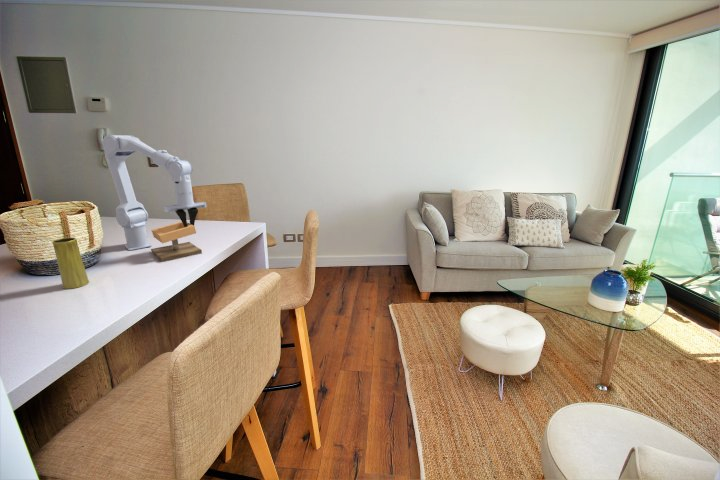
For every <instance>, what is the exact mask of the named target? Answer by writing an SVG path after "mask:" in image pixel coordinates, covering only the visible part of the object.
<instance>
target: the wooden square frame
mask: <svg viewBox="0 0 720 480" xmlns="http://www.w3.org/2000/svg"><path fill="white" fill-rule="evenodd" d="M187 225H188V227H184V226H183V223H182V221H181V220H180V221H177V222H174V223H171V224H168V225H163V226H160V227H157V228H152V229H150V230H151V233H152V236H153V238H154V239H156V240H157V241H158V242H160V243H161V244H166V243H169V242H172V240H175V239H178V240H179V239H181V238H185V237H187V236H191V235H195V234H197V230H196V227H195V224H194V225H192V224H190V222H187Z"/></svg>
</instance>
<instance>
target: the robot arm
mask: <svg viewBox="0 0 720 480" xmlns="http://www.w3.org/2000/svg"><path fill="white" fill-rule="evenodd" d="M101 144H102V145H101V146H102V148H103V151H104V154H105V158H106V162H107V165H108V169H109V172H110V175H111V177H112V182H113V184H114V188H115V190H116V194H117V196H118V201H119V204H118V205H117V206H116V208H115V209H114V210H115V215H116V216H115V219H116V222H117V223H118V225H119V226H121V228H123V231H124V236H125V239H126V243H124V244H123V245H124V247H125V248H126V249H127V250H128V251H133V250H139V249H145V248H151V247H152V244H151V243H150V242H149V239H148V235H147V234H148V233H147V229H146V224H147V221H148V219H149V213H148V211H147V210H146V209H145V206H144V204H142V203H141V202H139V201H137V198H136V194H135V191H134V188H133V184H132V182H131V178H130V175H129V171H128V169H127V168H128V167H127V164H126V160H127V159H128V158H129V157H130V156H132V155H133V154H134V153H135V152H137V153H138V154H140V155H143V156H145V157H147V158H149V159H152V162H153V164H155V165H157V166H158V167H160V168H162V169H164V170H166V171H167V172H168V174H169V175H170V177H171V180H172V182H173V186H174V193H175V199H176V204H171V205H167V206H165V205H164V206H163V211H164V212H165V213H170V212H175V213H176V215H177V216H178V217H179V219H180V222H181V221H182V223H183V226H184V227H188V225H187V223H188V221H187V220H188V219H189V223H190V224H192V225H194V226H195V222H196V218H197V216H198V213H199V209H201V208H208V205H207V202H206V201H202V202H199V201H198V202H195V201H194V192H193V187H192V179H191V174H192V173H193V170H194V169H193V168H194V167H193V165H192V163H191V162H190V161H188V160H187V159H180V158H179V157H178V156H174V155H172V154H170V153H168V151H167V150H166V149H162V150H161V149H159V150H156V149H155V148H153V147H151V146H149V145H148V144H146V143H145V142H143V141H141V140H140V138H139V137H135V136H134V135H132V134H128V135H123V134H122V135H119V134H106V135H105V136H104V138H103V139H102V141H101ZM186 210H187V212H186ZM187 213H188V217H189V218H188V219H187Z"/></svg>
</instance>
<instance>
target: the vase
mask: <svg viewBox="0 0 720 480" xmlns="http://www.w3.org/2000/svg"><path fill="white" fill-rule="evenodd" d="M52 245H53V250H54V255H55V257H56V261H57V267H58V270H59V275H60V278H61V280H60V281H61V284H62V288H64V289H67V290H71V289H78V288H81V287H84V286H86V285H88V284H89V283H90V279H89V278H88V275H87V271H86V268H85V264H84V261H83V258H82V255H81V252H80V249H79V248H80V247H79V243H78V240H77V238H76V237H63V238H57V239H54V240H52Z"/></svg>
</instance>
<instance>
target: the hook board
mask: <svg viewBox="0 0 720 480" xmlns="http://www.w3.org/2000/svg"><path fill="white" fill-rule="evenodd" d="M150 252H151V254H153V255H154V257H155V258H157V259H158V260H159V261H160V262H161V263H163V262H169V261H173V260H178V259H182V258H187V257H191V256H195V255H196V256H197V255H200V254H201V255H202V254H203V252H202V249H201V248H200V247H198V246H196V245H195V244H194V243H192V242H190V241H186V242H181V243H179V239H175V240H172V241H171V245H165V246H159V247H154V248H151V249H150Z"/></svg>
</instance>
